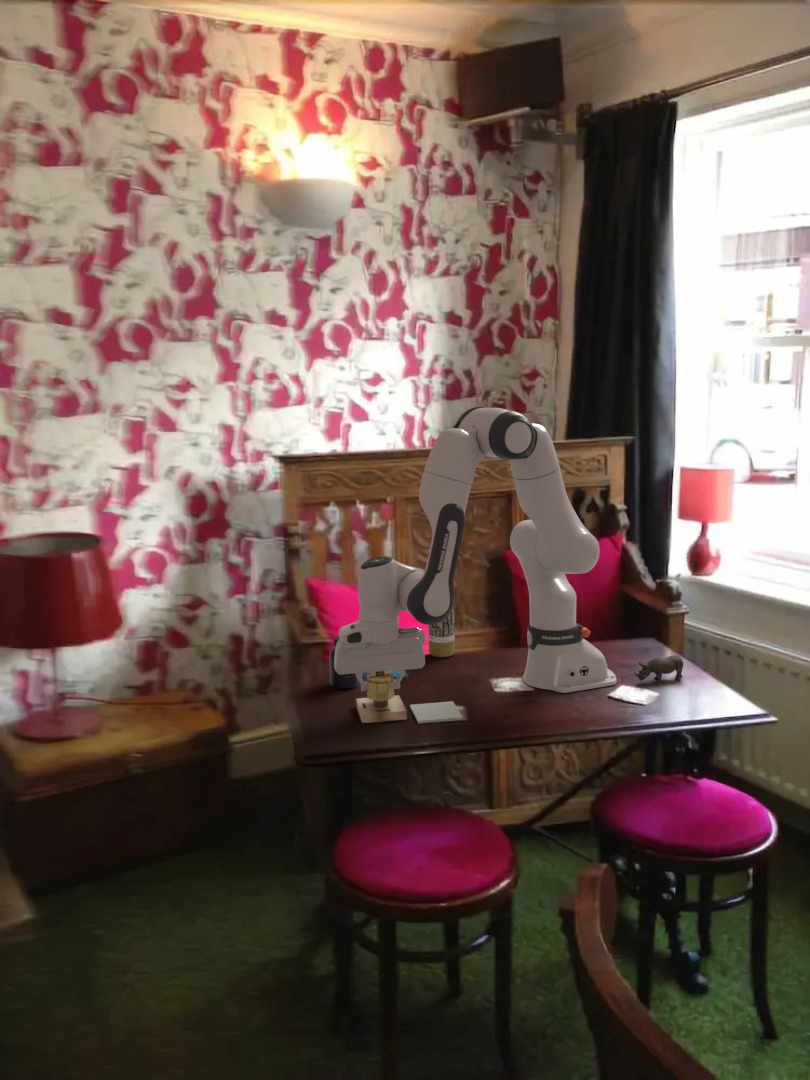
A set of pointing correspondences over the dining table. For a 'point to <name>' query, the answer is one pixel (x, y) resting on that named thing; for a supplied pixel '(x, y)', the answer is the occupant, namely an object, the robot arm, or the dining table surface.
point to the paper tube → (442, 637)
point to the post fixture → (381, 709)
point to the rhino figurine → (661, 668)
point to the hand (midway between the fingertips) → (380, 689)
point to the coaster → (436, 712)
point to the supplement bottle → (344, 679)
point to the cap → (380, 685)
